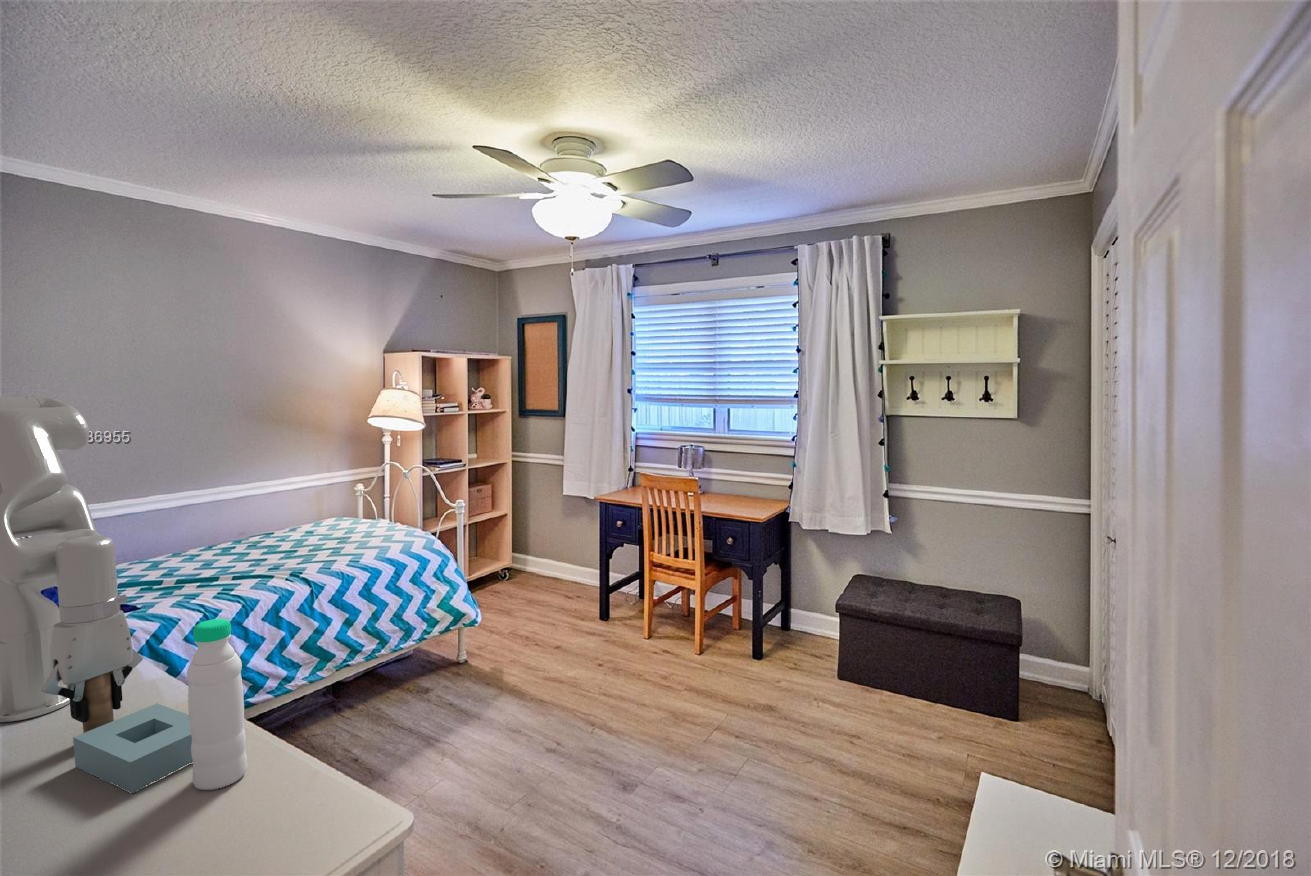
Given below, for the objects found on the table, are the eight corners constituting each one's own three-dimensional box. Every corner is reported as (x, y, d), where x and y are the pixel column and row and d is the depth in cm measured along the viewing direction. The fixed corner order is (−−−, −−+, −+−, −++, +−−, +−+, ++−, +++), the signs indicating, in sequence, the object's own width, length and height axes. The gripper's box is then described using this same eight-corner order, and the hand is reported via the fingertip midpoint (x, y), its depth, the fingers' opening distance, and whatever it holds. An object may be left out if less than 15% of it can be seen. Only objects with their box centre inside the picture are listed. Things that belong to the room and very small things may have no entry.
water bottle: (220, 795, 96) (211, 633, 94) (181, 789, 98) (171, 629, 95) (258, 767, 103) (250, 616, 101) (221, 762, 105) (212, 612, 102)
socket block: (75, 767, 103) (73, 737, 103) (158, 730, 114) (157, 703, 114) (132, 794, 97) (130, 762, 96) (215, 752, 107) (213, 723, 107)
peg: (79, 742, 110) (73, 663, 109) (107, 731, 114) (101, 654, 112) (92, 748, 108) (85, 668, 107) (119, 736, 112) (114, 658, 111)
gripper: (134, 592, 118) (140, 688, 120) (13, 623, 103) (23, 732, 105) (158, 598, 115) (164, 696, 117) (37, 631, 100) (47, 743, 102)
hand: (97, 712), depth 111 cm, fingers closed on peg, 4 cm apart
